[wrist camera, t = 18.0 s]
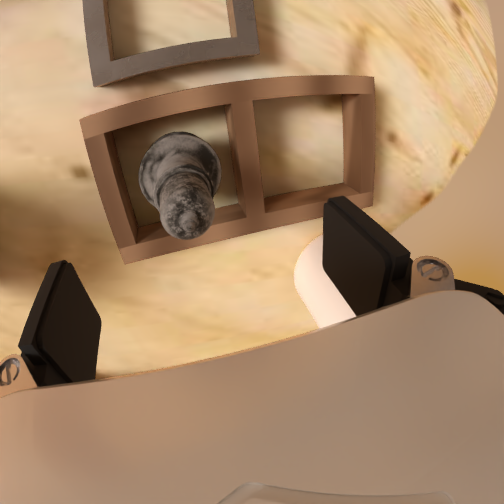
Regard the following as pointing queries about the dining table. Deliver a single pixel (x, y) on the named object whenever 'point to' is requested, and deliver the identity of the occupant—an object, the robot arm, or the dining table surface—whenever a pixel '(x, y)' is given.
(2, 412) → the robot arm
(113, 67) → the grey flat frame piece
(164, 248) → the walnut rack
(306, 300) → the wine bottle
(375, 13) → the dining table surface
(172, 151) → the chess piece
